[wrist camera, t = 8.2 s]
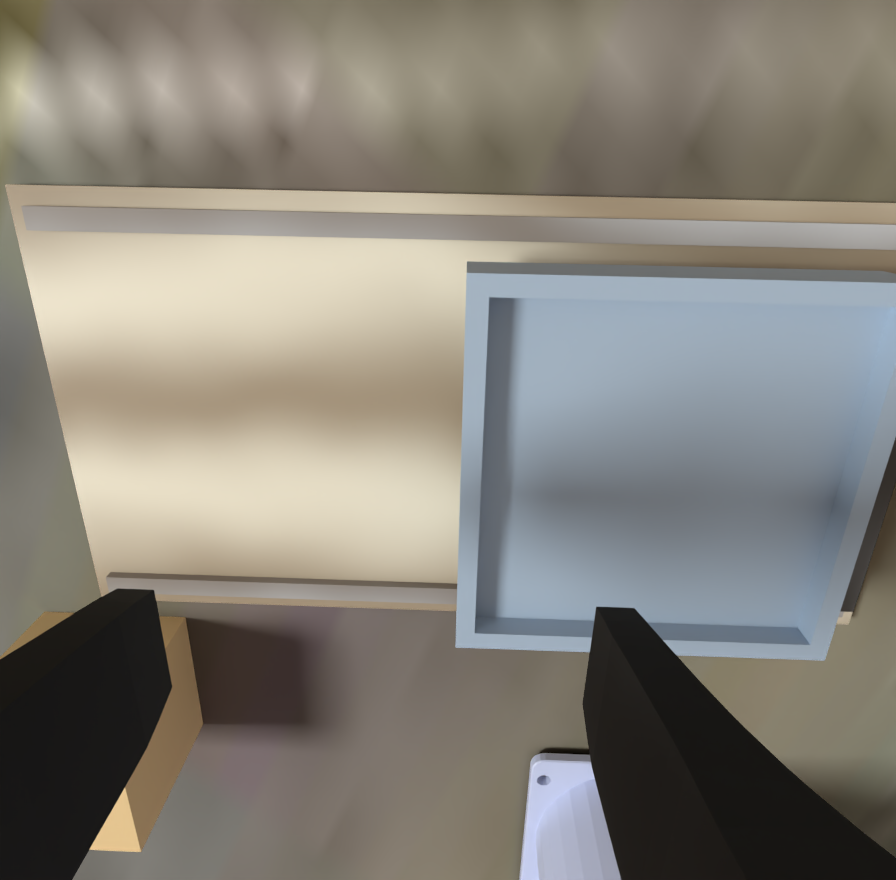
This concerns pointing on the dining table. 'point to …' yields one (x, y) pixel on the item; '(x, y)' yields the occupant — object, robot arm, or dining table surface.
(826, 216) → the track
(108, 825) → the ochre block
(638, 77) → the dining table surface
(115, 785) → the robot arm
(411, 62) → the dining table surface
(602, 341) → the blue square tray
